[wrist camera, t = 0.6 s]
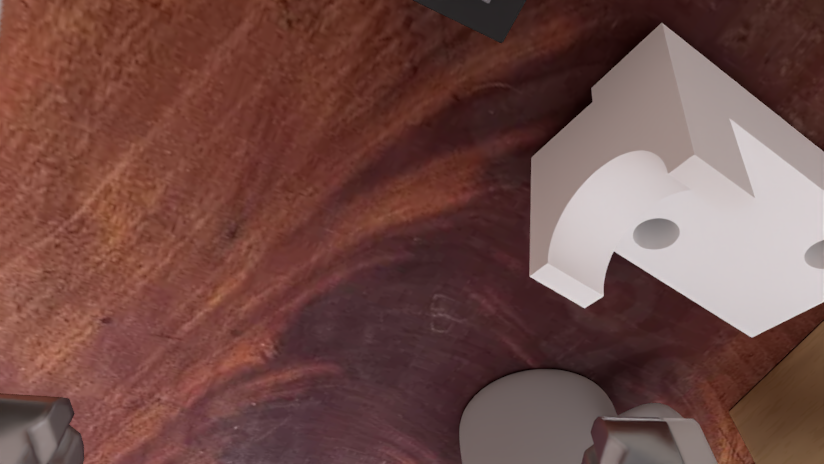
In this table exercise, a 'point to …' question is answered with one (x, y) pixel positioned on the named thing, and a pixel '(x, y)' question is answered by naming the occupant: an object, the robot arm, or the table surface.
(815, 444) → the stand
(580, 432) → the mug
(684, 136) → the bracket
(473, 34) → the table surface
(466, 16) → the black block
